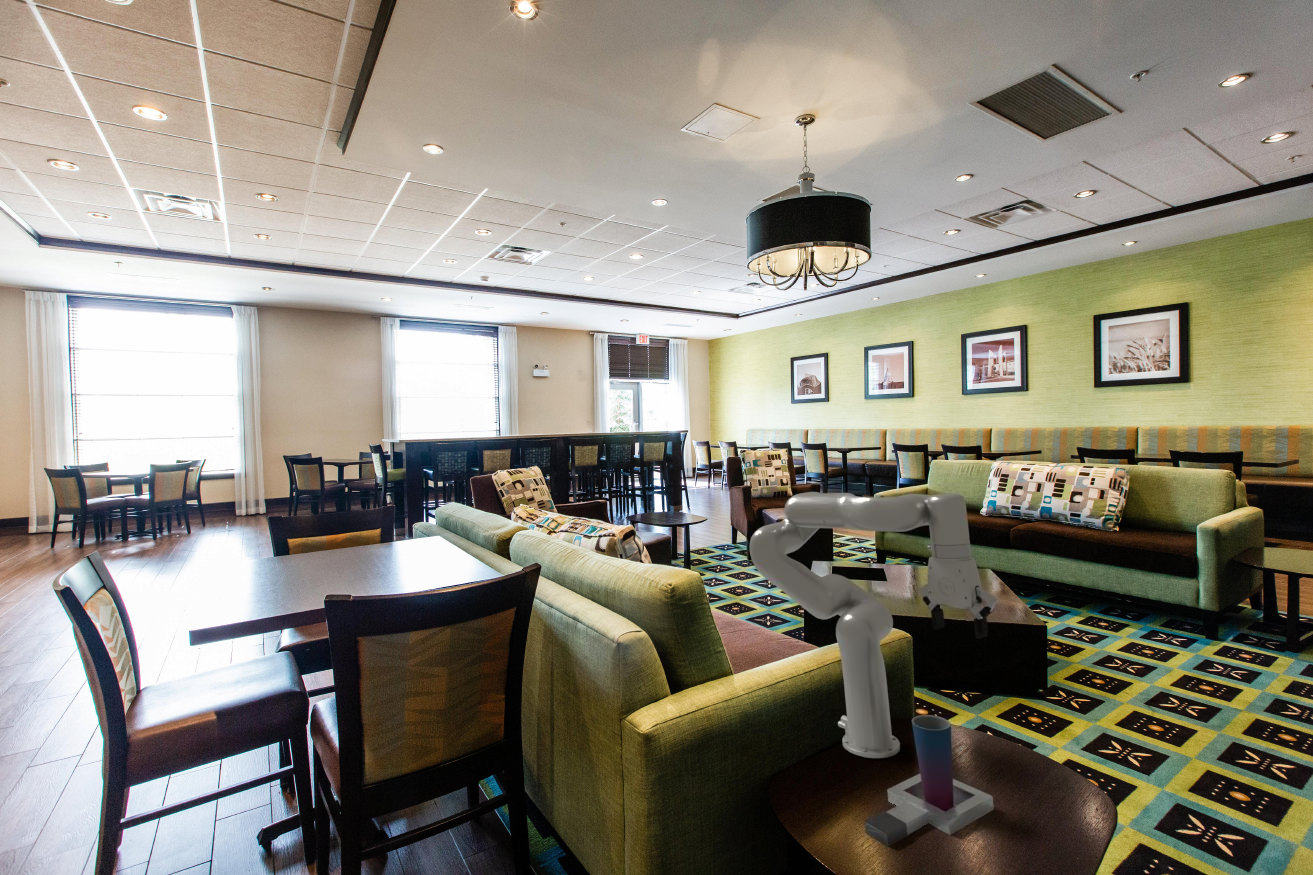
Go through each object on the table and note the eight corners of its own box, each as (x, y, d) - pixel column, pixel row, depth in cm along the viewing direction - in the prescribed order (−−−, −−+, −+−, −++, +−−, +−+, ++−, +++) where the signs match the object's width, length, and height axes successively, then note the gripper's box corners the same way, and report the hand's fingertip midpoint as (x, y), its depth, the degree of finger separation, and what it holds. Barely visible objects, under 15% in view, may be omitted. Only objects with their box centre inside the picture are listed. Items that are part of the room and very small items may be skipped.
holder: (931, 780, 121) (930, 768, 121) (993, 809, 110) (992, 795, 110) (848, 822, 109) (847, 808, 110) (908, 859, 98) (907, 844, 98)
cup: (963, 813, 109) (955, 730, 110) (924, 812, 110) (916, 729, 111) (953, 793, 115) (945, 714, 116) (915, 792, 117) (908, 714, 118)
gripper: (905, 550, 133) (912, 628, 132) (979, 557, 118) (988, 644, 117) (926, 546, 137) (934, 621, 135) (1001, 552, 122) (1010, 637, 120)
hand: (959, 632), depth 126 cm, fingers open, 9 cm apart
